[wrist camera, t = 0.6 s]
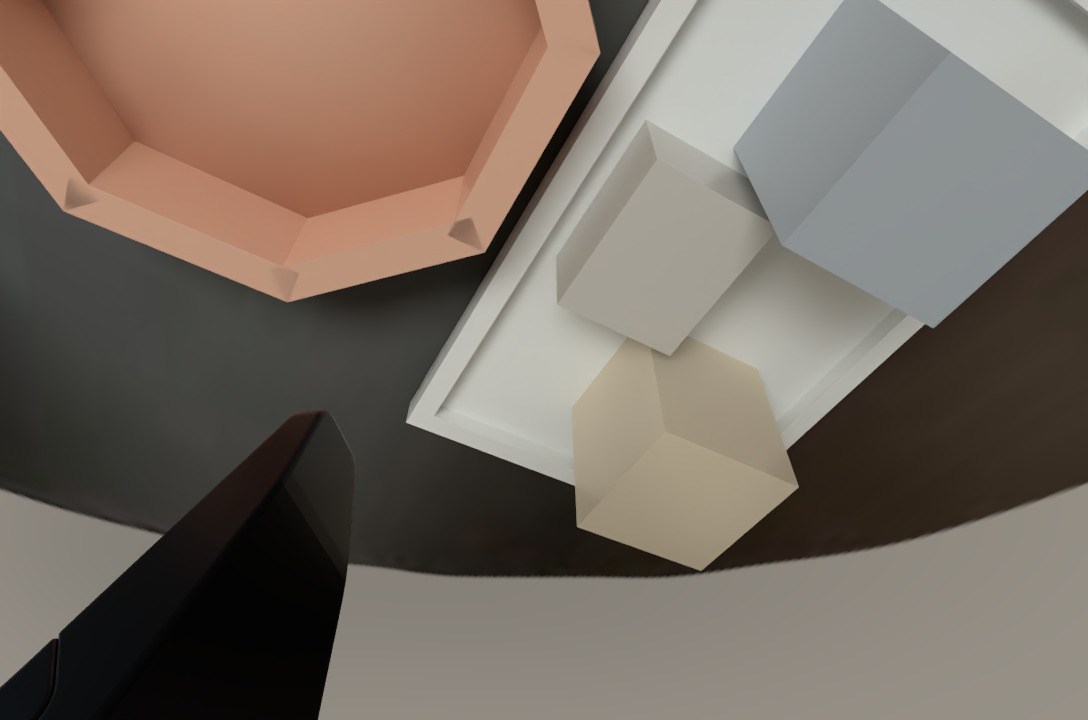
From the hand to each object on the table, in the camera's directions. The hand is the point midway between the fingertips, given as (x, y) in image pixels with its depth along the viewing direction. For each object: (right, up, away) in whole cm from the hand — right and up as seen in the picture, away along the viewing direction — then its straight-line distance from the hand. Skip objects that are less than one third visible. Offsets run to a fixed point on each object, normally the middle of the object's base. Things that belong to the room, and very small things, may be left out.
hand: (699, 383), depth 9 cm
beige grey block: (+1, +4, +12) cm, 13 cm away
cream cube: (+2, -1, +16) cm, 16 cm away
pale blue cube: (+6, +6, +10) cm, 13 cm away
